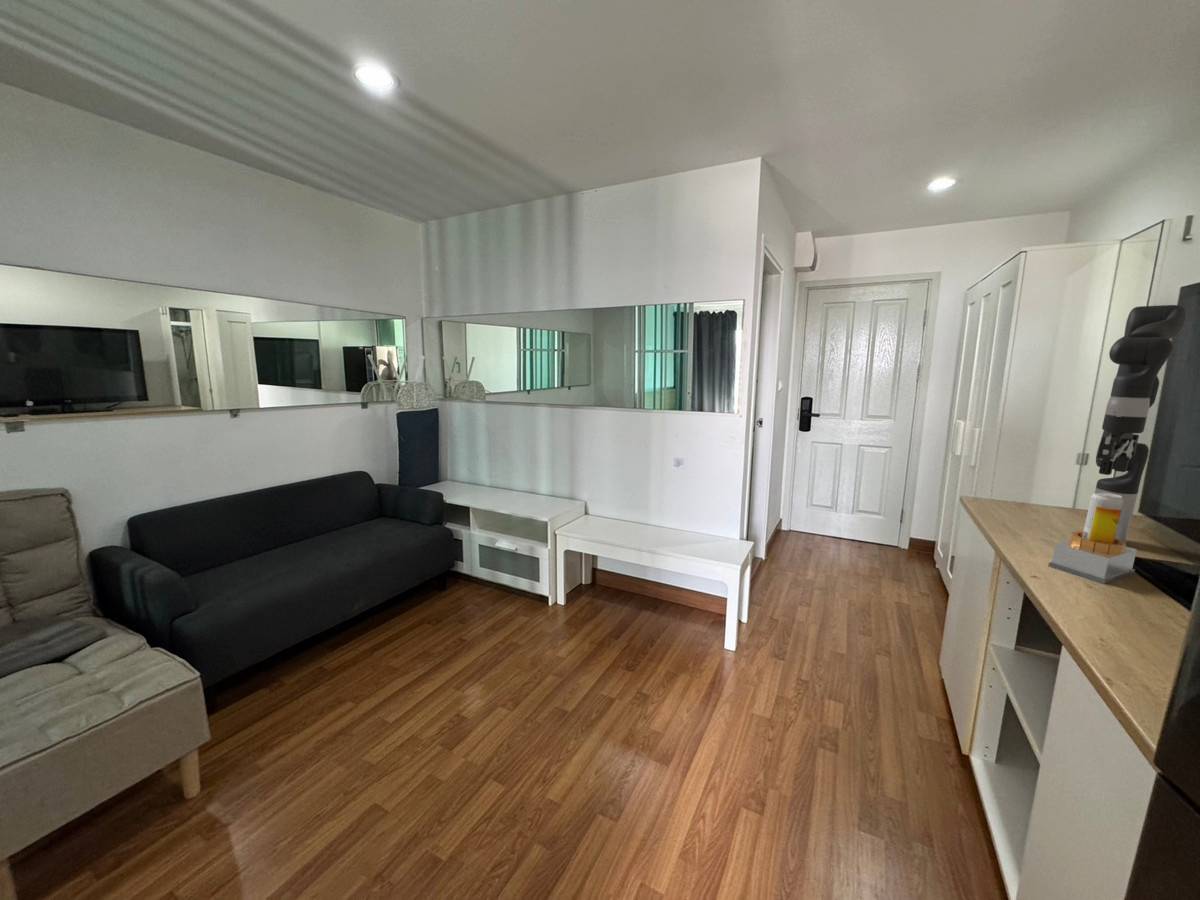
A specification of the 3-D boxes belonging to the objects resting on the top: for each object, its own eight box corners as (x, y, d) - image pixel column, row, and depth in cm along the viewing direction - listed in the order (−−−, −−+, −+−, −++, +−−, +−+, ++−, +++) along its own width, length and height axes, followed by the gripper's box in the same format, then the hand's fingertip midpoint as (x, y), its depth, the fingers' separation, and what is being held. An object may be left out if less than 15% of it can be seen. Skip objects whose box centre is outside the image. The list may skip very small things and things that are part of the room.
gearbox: (1084, 554, 142) (1090, 525, 140) (1139, 570, 131) (1147, 539, 129) (1048, 566, 134) (1054, 535, 132) (1104, 583, 123) (1112, 550, 121)
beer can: (1118, 550, 127) (1131, 498, 124) (1092, 548, 128) (1104, 497, 125) (1100, 542, 133) (1111, 492, 130) (1075, 540, 134) (1086, 491, 131)
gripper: (1118, 411, 129) (1106, 467, 132) (1093, 413, 124) (1080, 472, 127) (1158, 414, 123) (1144, 473, 126) (1133, 416, 117) (1119, 478, 120)
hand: (1112, 472), depth 126 cm, fingers open, 8 cm apart
